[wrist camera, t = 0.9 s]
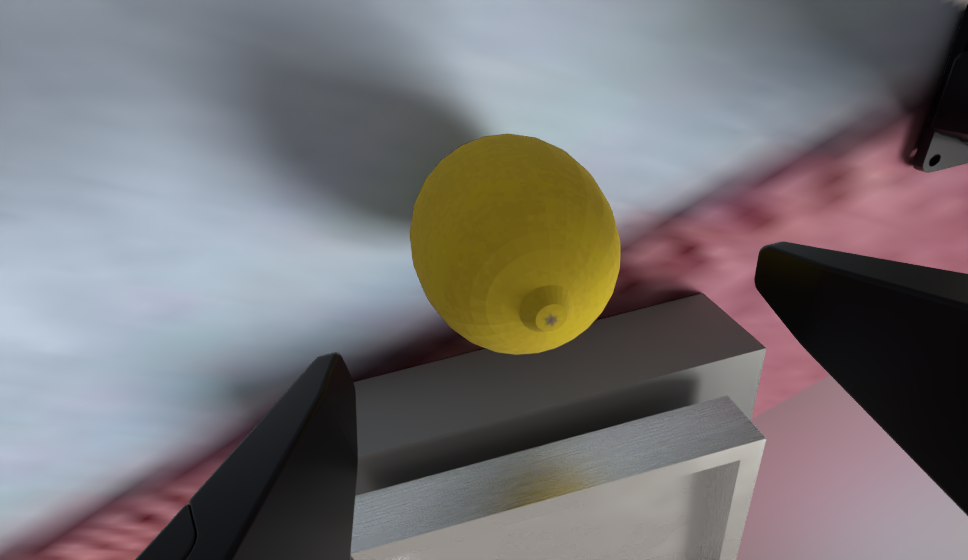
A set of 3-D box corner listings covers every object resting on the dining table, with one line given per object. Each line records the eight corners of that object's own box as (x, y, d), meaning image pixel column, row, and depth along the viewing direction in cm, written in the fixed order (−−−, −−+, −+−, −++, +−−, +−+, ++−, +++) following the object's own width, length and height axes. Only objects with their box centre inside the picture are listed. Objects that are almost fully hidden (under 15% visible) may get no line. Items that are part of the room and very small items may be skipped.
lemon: (379, 149, 14) (365, 259, 8) (537, 86, 14) (666, 141, 7) (441, 281, 17) (472, 447, 10) (572, 230, 17) (690, 364, 10)
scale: (702, 293, 20) (808, 385, 15) (681, 496, 28) (744, 600, 23) (287, 399, 19) (247, 538, 14) (392, 578, 27) (391, 706, 22)
